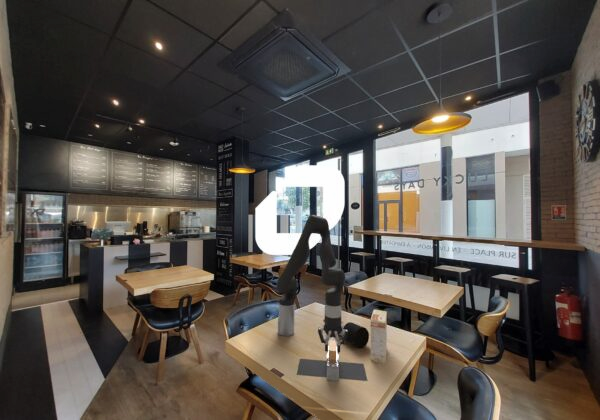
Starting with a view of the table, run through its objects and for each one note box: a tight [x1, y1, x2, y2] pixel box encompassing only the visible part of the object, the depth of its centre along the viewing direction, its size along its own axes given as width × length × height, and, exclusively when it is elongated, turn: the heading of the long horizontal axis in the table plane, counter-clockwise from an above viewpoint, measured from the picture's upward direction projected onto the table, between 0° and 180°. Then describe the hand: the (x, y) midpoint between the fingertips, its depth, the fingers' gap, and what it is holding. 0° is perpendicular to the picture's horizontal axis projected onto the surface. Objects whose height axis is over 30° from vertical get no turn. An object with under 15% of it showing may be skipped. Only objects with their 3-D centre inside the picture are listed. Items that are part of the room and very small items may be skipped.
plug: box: [328, 337, 337, 360], centre depth 114 cm, size 14×3×4 cm, turn 173°
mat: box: [296, 358, 368, 382], centre depth 110 cm, size 30×12×1 cm, turn 83°
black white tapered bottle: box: [322, 318, 370, 349], centre depth 143 cm, size 10×34×10 cm, turn 30°
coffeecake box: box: [370, 309, 388, 365], centre depth 123 cm, size 15×7×20 cm, turn 157°
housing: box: [326, 345, 340, 382], centre depth 110 cm, size 5×16×6 cm, turn 173°
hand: (332, 352), depth 110 cm, fingers open, 4 cm apart
